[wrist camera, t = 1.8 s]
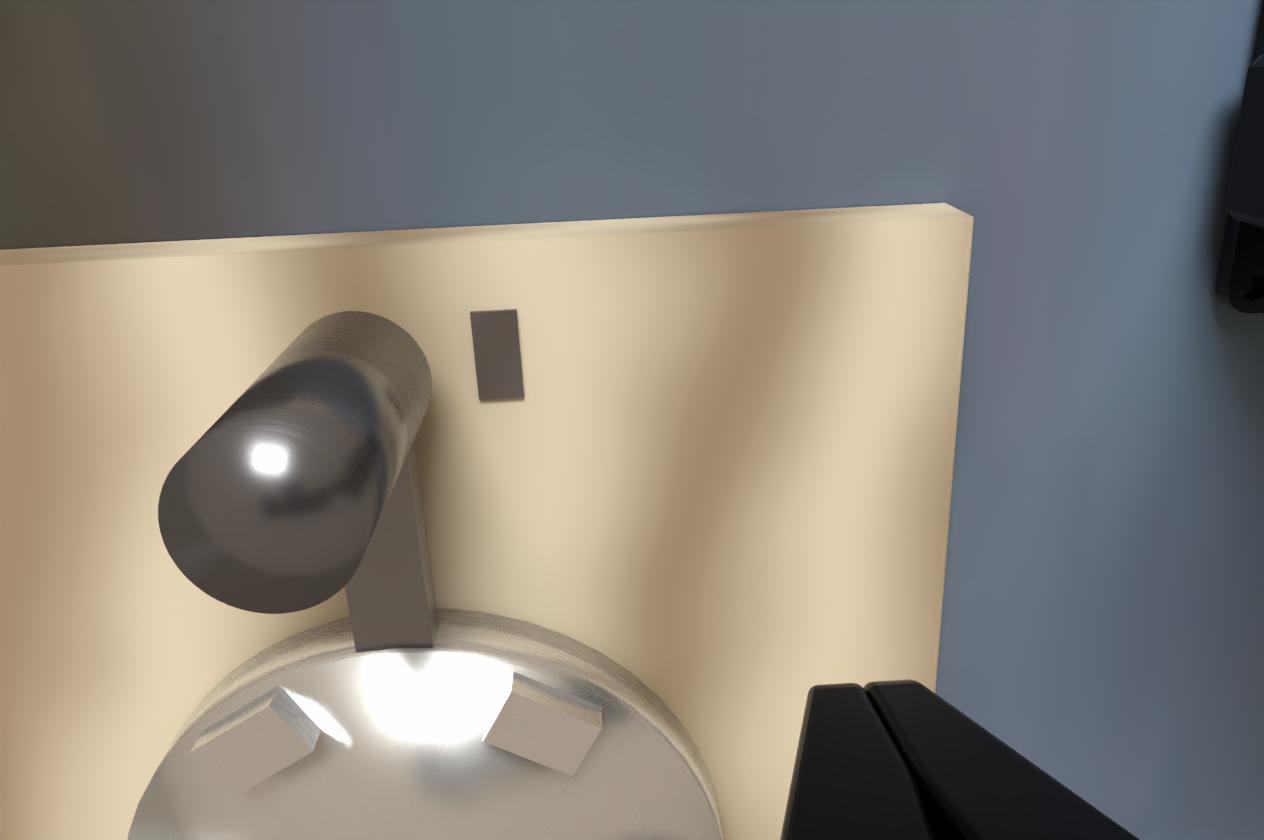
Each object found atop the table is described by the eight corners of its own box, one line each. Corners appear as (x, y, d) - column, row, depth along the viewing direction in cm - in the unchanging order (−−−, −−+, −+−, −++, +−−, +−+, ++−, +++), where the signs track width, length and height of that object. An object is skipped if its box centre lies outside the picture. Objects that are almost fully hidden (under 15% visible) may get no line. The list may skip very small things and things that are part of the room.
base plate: (944, 202, 18) (976, 217, 17) (889, 986, 26) (908, 1045, 24) (-321, 265, 18) (-402, 287, 17) (-12, 1043, 25) (-50, 1107, 24)
